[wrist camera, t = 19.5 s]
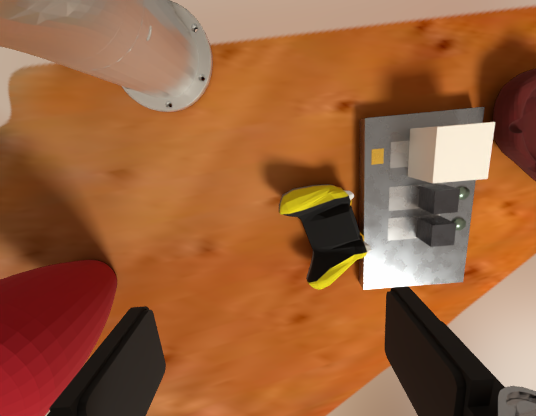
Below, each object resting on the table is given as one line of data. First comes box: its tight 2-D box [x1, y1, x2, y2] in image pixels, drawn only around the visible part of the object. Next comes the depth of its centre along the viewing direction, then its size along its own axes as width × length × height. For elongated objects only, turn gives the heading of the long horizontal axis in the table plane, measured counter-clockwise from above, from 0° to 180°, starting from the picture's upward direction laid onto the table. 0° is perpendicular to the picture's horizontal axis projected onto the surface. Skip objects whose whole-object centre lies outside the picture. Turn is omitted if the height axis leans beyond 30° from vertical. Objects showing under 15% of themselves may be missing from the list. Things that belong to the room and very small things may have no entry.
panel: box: [359, 107, 484, 290], centre depth 35 cm, size 25×15×6 cm, turn 5°
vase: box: [0, 260, 117, 416], centre depth 27 cm, size 15×15×30 cm
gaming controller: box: [279, 184, 371, 290], centre depth 36 cm, size 15×6×10 cm
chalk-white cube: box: [408, 122, 495, 183], centre depth 31 cm, size 6×6×6 cm
